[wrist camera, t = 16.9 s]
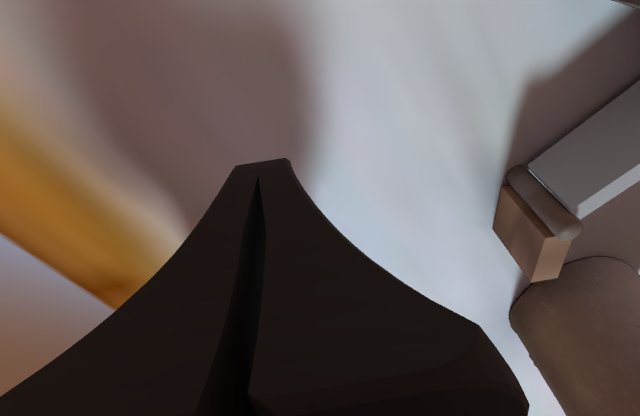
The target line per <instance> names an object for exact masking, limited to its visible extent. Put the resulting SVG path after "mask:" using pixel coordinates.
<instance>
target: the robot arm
mask: <svg viewBox="0 0 640 416" xmlns="http://www.w3.org/2000/svg"><path fill="white" fill-rule="evenodd" d="M528 410H529V403H528V400H527V398H526V396H525V394H524V392H523V390H522V388H521V386H520V384H519V382H518V380H517V378H516V376H515V375H514V373H513V372H512V370H511V368H510V367H509V365H508V364H507V363H506V361H505V360H504V358H503V357H502V355H501V354H500V353H499V351H498V350H497V348H496V347H495V346H494V344H493V343H492V342H491V340H490V339H489V338H488V336H487V335H486V334H485V332H484V331H483V330H482V329H481V327H480V326H479V325H478V324H476V323H474V322H472V321H470V320H468V319H466V318H464V317H463V316H461V315H459V314H457V313H455V312H453V311H451V310H449V309H447V308H445V307H443V306H442V305H440V304H438V303H436V302H434V301H432V300H430V299H429V298H427V297H425V296H424V295H422V294H421V293H419V292H417V291H416V290H414V289H412V288H411V287H409V286H408V285H406V284H404V283H403V282H402V281H400V280H399V279H397V278H396V277H395V276H393V275H392V274H390V273H389V272H388V271H386V270H385V269H384V268H382V267H381V266H379V265H378V264H377V263H375V262H374V261H372V260H371V259H370V258H369V257H367V256H366V255H365V254H364V253H363V252H361V251H360V250H359V249H358V248H357V247H355V246H354V245H353V244H352V243H351V242H350V241H349V240H348V239H347V238H346V237H345V236H343V235H342V234H341V233H340V232H339V231H338V230H337V229H336V228H335V226H334V225H333V224H332V223H331V222H330V221H329V220H328V219H327V218H326V217H325V216H324V214H323V213H322V212H321V211H320V210H319V208H318V207H317V206H316V205H315V204H314V202H313V201H312V200H311V198H310V197H309V195H308V194H307V193H306V191H305V190H304V188H303V187H302V185H301V184H300V182H299V181H298V179H297V177H296V175H295V173H294V171H293V169H292V167H291V163H290V161H289V160H287V159H286V158H282V159H276V160H269V161H263V162H257V163H251V164H244V165H238V166H235V168H234V169H233V170H232V172H231V174H230V175H229V177H228V178H227V180H226V182H225V183H224V185H223V187H222V188H221V190H220V192H219V193H218V195H217V196H216V198H215V200H214V201H213V202H212V204H211V205H210V207H209V208H208V210H207V211H206V213H205V214H204V216H203V217H202V219H201V220H200V222H199V223H198V224H197V226H196V227H195V228H194V230H193V231H192V232H191V233H190V235H189V236H188V237H187V239H186V240H185V241H184V243H183V244H182V245H181V246H180V248H179V249H178V250H177V251H176V252H175V253H174V255H173V256H172V257H171V258H170V259H169V260H168V261H167V262H166V263H165V264H164V265H163V266H162V267H161V269H160V270H159V271H158V272H157V273H156V274H155V275H154V276H153V277H152V278H151V279H150V280H149V281H148V282H147V283H146V284H145V285H143V286H142V287H141V288H140V289H139V290H138V291H137V292H136V293H135V294H134V295H133V296H131V297H130V298H129V299H128V300H127V301H126V302H125V303H124V304H123V305H122V306H121V307H119V308H118V309H117V310H116V311H115V312H114V313H113V314H112V315H110V316H109V317H108V318H107V319H106V320H105V321H103V322H102V323H101V324H99V325H98V326H97V327H96V328H95V329H93V330H92V331H91V332H90V333H88V334H87V335H86V336H85V337H83V338H82V339H81V340H79V341H78V342H77V343H75V344H74V345H73V346H72V347H70V348H69V349H68V350H66V351H65V352H64V353H62V354H61V355H60V356H58V357H57V358H56V359H54V360H53V361H51V362H50V363H49V364H47V365H46V366H44V367H43V368H42V369H40V370H39V371H37V372H36V373H34V374H33V375H31V376H30V377H29V378H27V379H25V380H24V381H23V382H21V383H20V384H18V385H17V386H15V387H14V388H12V389H11V390H9V391H8V392H7V393H5V394H4V395H2V396H1V397H0V416H528Z"/></svg>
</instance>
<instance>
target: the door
mask: <svg viewBox="0 0 640 416" xmlns="http://www.w3.org/2000/svg"><path fill="white" fill-rule="evenodd" d="M527 166H528V167H529V169H530V170H531V171H532V172H533V173H534V175H535V176H536V177H537V178H538V179H539V180H540V181H541V182H542V183H543V184H544V185H545V186H546V187H547V188H548V189H550V190H551V191H552V192H553V193H554V194H555V195H556V196H557V197H558V198H559V199H560V200H561V201H562V202H563V203H564V204H565V205H566V206H567V207H568V208H569V209H570V210H571V211H572V212H573V213H574V214H575V215H576V216H577V217H578V218H579V219H580V220H581V219H582V218H584V217H585V216H587V215H588V214H590V213H591V212H593V211H594V210H596V209H597V208H599V207H600V206H602V205H603V204H605V203H606V202H608V201H609V200H611V199H612V198H614V197H615V196H617V195H618V194H620V193H621V192H623V191H624V190H626V189H628V188H629V187H631V186H632V185H634V184H635V183H637V182H638V181H640V80H639V81H638V82H637V83H635V84H634V85H633V86H631V87H630V88H629V89H627V90H626V91H625V92H623V93H622V94H621V95H619V96H618V97H617V98H616V99H614V100H613V101H612V102H610V103H609V104H608V105H606V106H605V107H604V108H602V109H601V110H600V111H598V112H597V113H596V114H594V115H593V116H592V117H590V118H589V119H588V120H586V121H585V122H584V123H582V124H581V125H580V126H578V127H577V128H576V129H574V130H573V131H572V132H570V133H569V134H568V135H566V136H565V137H564V138H563V139H561V140H560V141H559V142H557V143H556V144H555V145H553V146H552V147H551V148H549V149H548V150H547V151H545V152H544V153H543V154H541V155H540V156H539V157H537V158H536V159H535V160H533V161H532V162H531V163H529V164H528V165H527Z"/></svg>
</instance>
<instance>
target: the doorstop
mask: <svg viewBox="0 0 640 416" xmlns="http://www.w3.org/2000/svg"><path fill="white" fill-rule="evenodd" d="M612 1H615V2H618V3H622V4H625V5H628V6H631V7H634V8H637V9H640V0H612Z"/></svg>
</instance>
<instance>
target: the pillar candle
mask: <svg viewBox="0 0 640 416" xmlns="http://www.w3.org/2000/svg"><path fill="white" fill-rule="evenodd" d="M509 318H510V323H511V327H512V329H513V330H514V331H515V332H516V333H517V335H518V336H519V338H520V340H521V341H522V343H523V344H524V346H525V348H526V349H527V351H528V353H529V357H530V358H531V359H532V360H533V362H534V365H535V366H536V367H537V368H538V370H539V371H540V373H541V374H542V376H543V378H544V379H545V381H546V383H547V384H548V386H549V388H550V389H551V391H552V392H553V394H554V396H555V397H556V399H557V400H558V402H559V404H560V405H561V407H562V409H563V410H564V412H565V414H566V416H640V275H639V274H638V273H637V272H636V271H635V270H634V269H633V268H631V267H630V266H629V265H627V264H626V263H625V262H622V261H620V260H616V259H613V258H609V257H591V258H586V259H581V260H578V261H575V262H571V263H568V264H565V265H563V266H562V268H561V270H560V273H559V276H558V278H555V279H549V280H543V281H537V282H535V283H534V284H533V285H532V286H530V287H529V288H528V289H527V290H526V291H525V293H524V294H523V295H522V296H521V297H520V298H519V300H518V301H517V302H516V303H515V304H514V306H513V307H512V309H511V312H510V317H509Z"/></svg>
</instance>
